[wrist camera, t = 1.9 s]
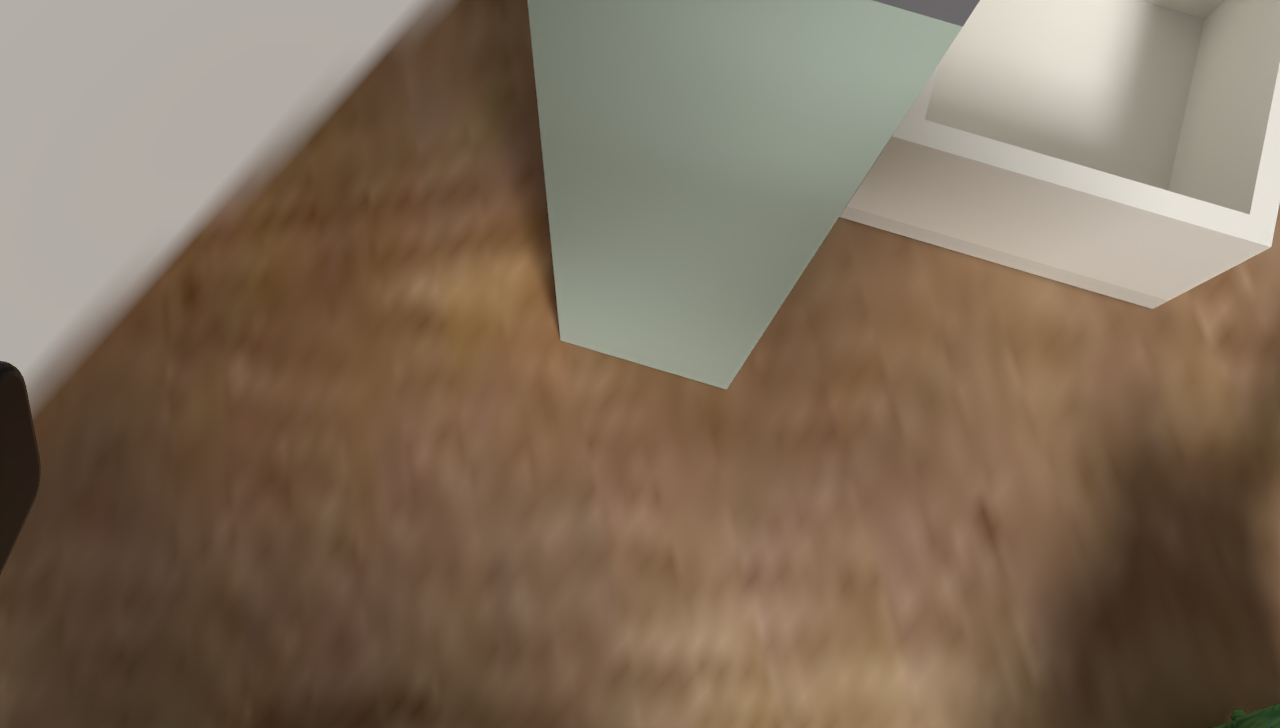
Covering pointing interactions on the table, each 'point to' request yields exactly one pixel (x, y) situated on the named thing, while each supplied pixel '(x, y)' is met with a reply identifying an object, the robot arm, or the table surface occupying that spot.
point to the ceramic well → (1094, 143)
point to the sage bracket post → (711, 156)
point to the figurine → (1255, 718)
